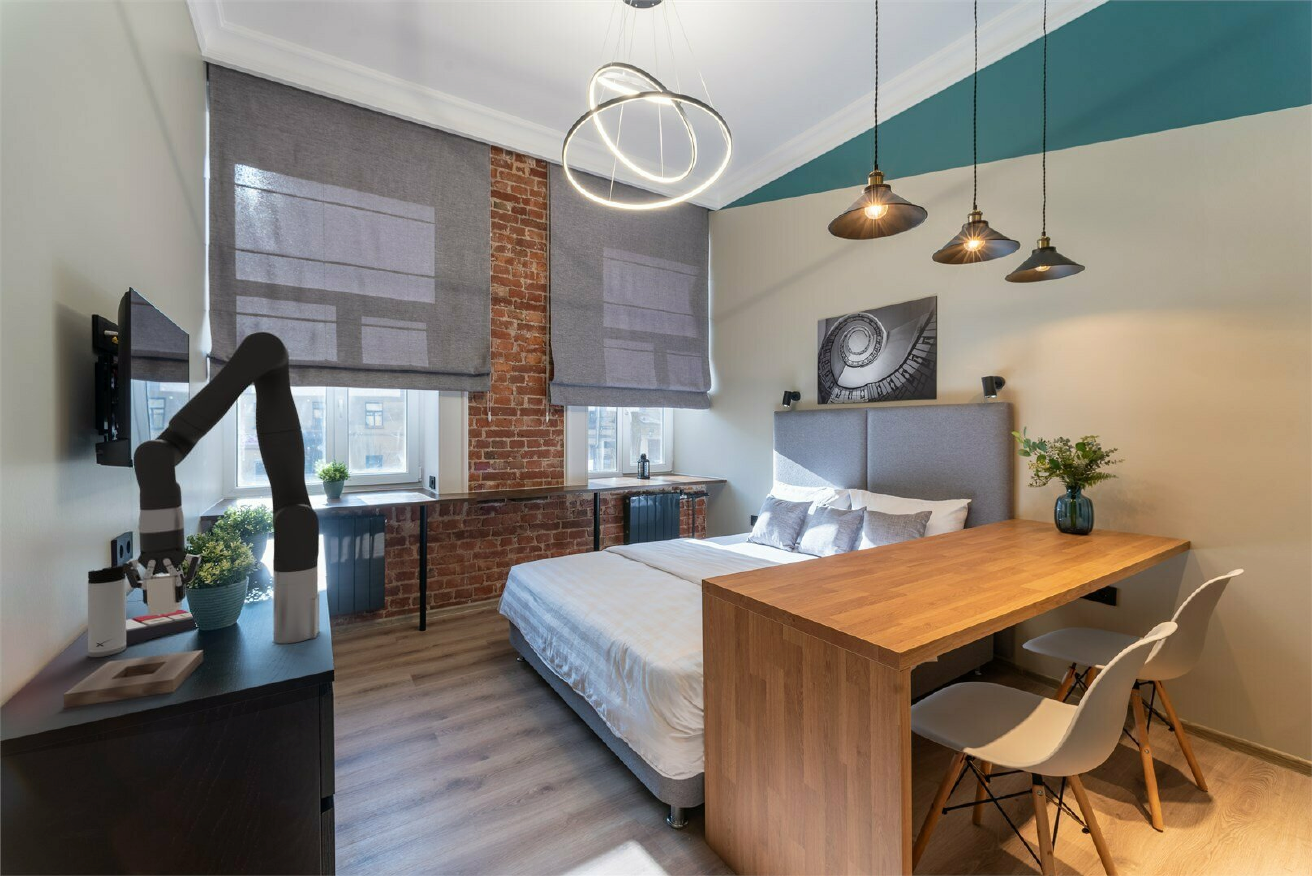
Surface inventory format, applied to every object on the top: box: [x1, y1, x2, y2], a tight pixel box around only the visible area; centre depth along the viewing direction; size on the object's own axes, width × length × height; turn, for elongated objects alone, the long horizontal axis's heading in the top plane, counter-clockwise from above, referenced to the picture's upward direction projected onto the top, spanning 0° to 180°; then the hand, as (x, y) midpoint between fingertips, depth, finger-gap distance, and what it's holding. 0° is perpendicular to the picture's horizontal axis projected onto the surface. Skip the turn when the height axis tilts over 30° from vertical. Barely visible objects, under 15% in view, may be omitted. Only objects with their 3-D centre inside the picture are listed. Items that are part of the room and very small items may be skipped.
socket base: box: [63, 649, 204, 709], centre depth 112 cm, size 16×16×2 cm
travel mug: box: [87, 565, 127, 658], centre depth 127 cm, size 6×7×20 cm
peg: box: [147, 573, 183, 616], centre depth 125 cm, size 4×4×8 cm
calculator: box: [126, 608, 197, 647], centre depth 141 cm, size 11×4×15 cm
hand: (164, 602), depth 125 cm, fingers closed on peg, 4 cm apart
